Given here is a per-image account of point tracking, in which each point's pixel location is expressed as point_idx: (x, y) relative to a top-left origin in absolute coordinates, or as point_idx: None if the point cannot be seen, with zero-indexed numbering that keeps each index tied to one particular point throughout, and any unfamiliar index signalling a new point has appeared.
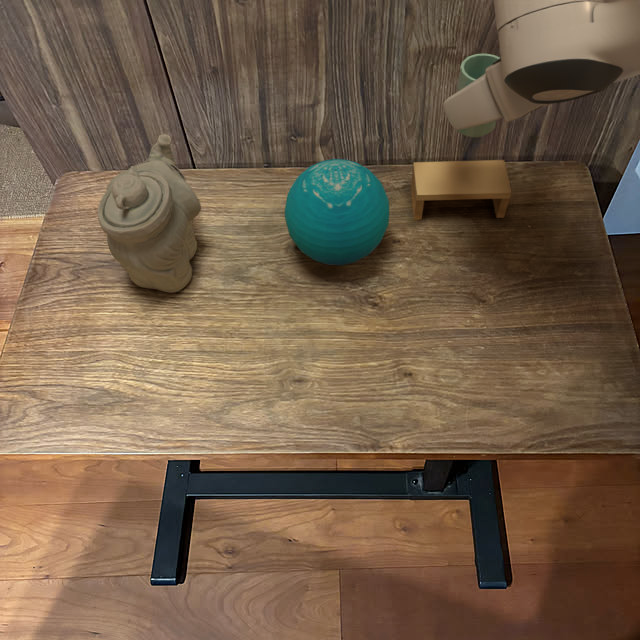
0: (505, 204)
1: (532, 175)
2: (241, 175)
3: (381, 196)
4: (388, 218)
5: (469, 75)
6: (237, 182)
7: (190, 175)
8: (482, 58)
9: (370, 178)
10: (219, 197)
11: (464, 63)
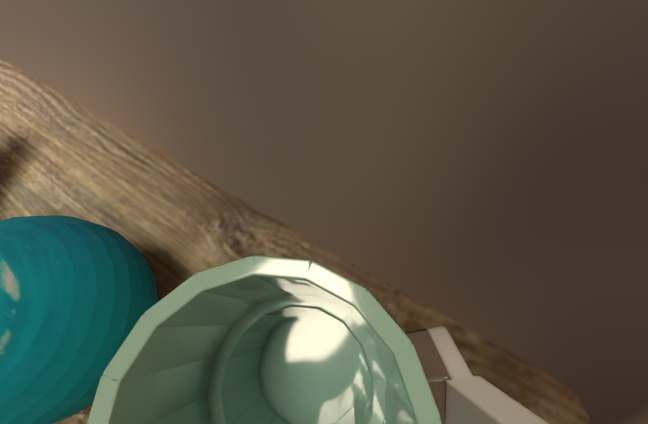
0: None
1: (489, 368)
2: (114, 129)
3: (33, 387)
4: (85, 399)
5: (295, 290)
6: (102, 137)
7: (70, 101)
8: (341, 301)
9: (10, 346)
10: (68, 149)
11: (185, 301)
